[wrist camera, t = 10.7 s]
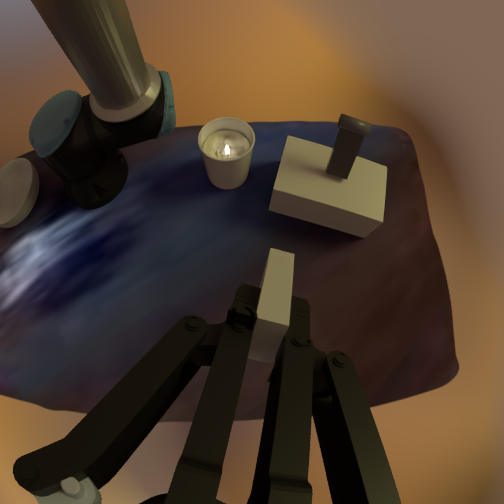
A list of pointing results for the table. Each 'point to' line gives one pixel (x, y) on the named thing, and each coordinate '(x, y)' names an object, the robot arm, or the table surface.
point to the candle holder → (226, 151)
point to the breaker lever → (347, 145)
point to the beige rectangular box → (328, 190)
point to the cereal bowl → (17, 191)
